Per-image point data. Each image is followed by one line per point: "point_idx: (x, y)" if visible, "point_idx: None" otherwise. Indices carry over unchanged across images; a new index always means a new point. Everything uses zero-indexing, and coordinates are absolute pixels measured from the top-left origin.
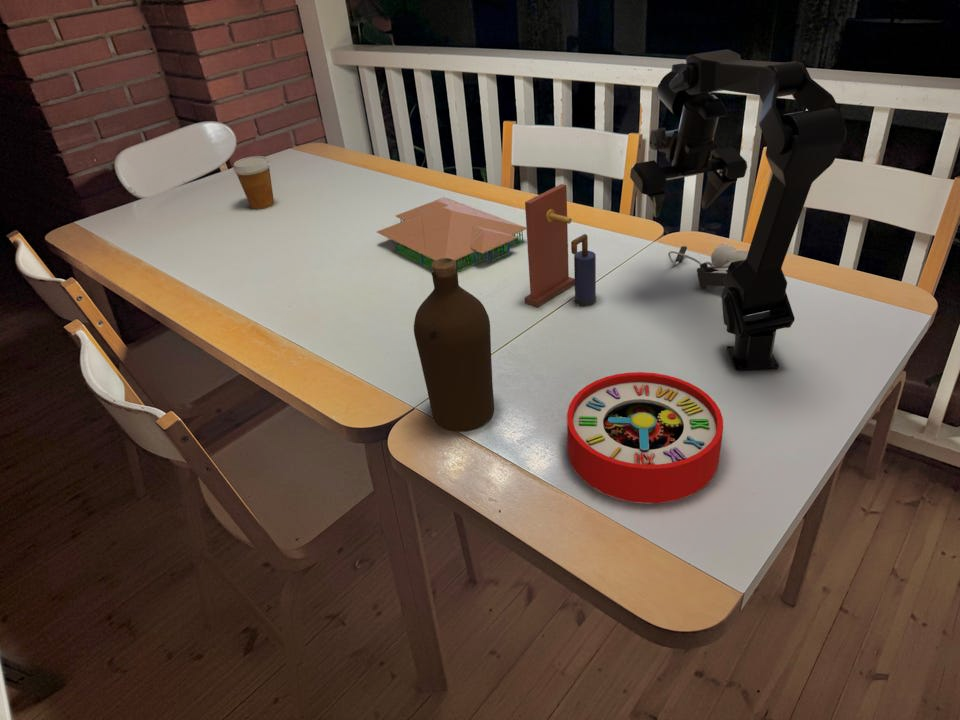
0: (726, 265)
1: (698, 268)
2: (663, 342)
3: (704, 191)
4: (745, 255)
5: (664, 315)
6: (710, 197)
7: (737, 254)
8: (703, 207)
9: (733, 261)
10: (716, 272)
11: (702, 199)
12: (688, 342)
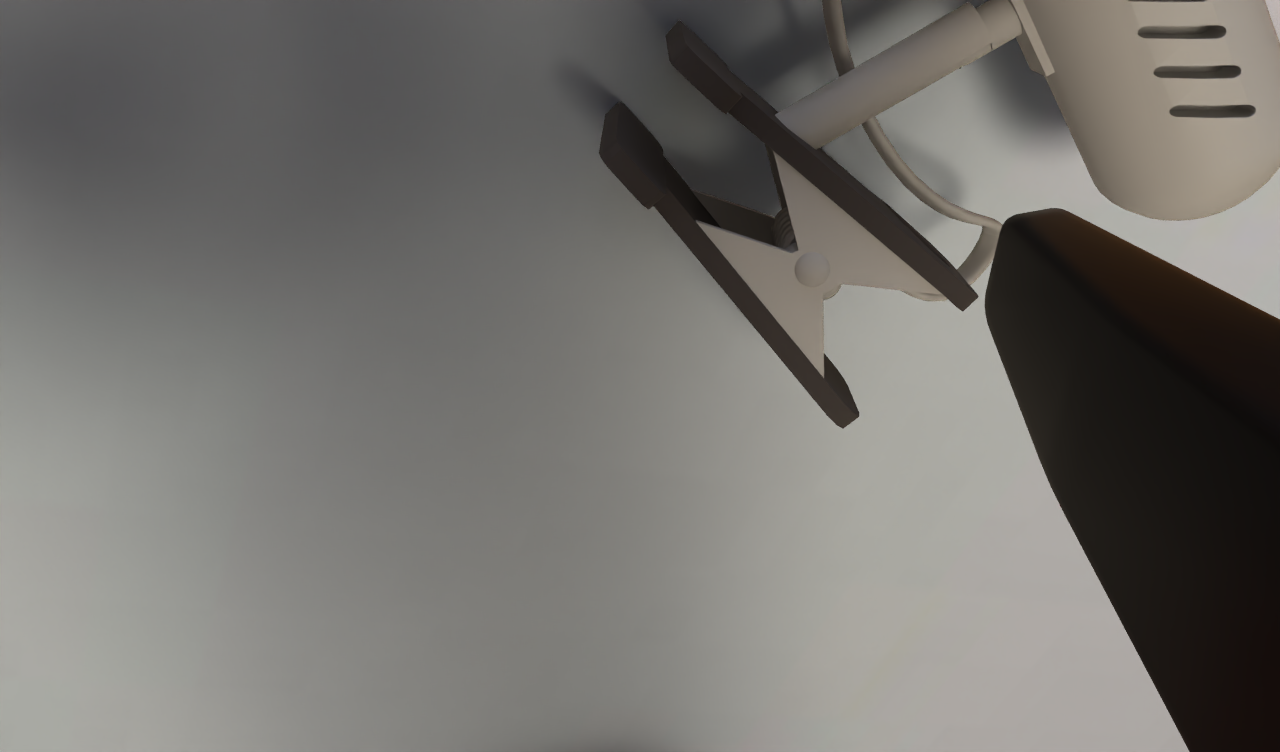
0: (934, 74)
1: (617, 168)
2: (124, 742)
3: (1256, 443)
4: (1151, 120)
5: (187, 460)
6: (1165, 673)
7: (1113, 34)
8: (994, 303)
9: (1033, 34)
10: (751, 276)
11: (1089, 308)
12: (290, 748)
